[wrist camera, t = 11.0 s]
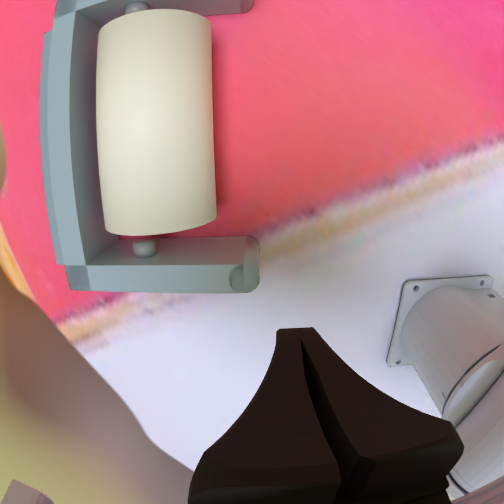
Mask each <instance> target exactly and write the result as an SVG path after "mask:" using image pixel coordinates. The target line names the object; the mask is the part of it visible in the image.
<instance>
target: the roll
mask: <svg viewBox="0 0 504 504" xmlns="http://www.w3.org/2000/svg"><path fill="white" fill-rule="evenodd" d="M96 130H97V150H98V165H99V177H100V188H101V197H102V206H103V214H104V222H105V229H106V230H107V231H108V232H110V233H113V234H118V235H130V236H141V235H156V234H165V233H172V232H178V231H183V230H188V229H192V228H196V227H199V226H202V225H205V224H207V223H209V222H211V221H213V220H214V219H215V218H216V217H217V208H216V187H215V164H214V136H213V100H212V25H211V23H210V21H209V20H208V19H206V18H205V17H203V16H201V15H199V14H196V13H193V12H189V11H184V10H177V9H152V10H144V11H138V12H134V13H130V14H126V15H123V16H121V17H118V18H116V19H114V20H112V21H110V22H108V23H107V24H106V25H104V26H103V27H102V28H101V30H100V31H99V34H98V47H97V67H96Z"/></svg>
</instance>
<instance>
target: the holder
mask: <svg viewBox="0 0 504 504" xmlns="http://www.w3.org/2000/svg"><path fill="white" fill-rule="evenodd" d="M252 7H253V0H57V3H56V8H55V15H54V21H53V28H52V30H51V31H49V32H46V33H45V35H44V43H43V53H42V65H41V81H40V142H41V159H42V171H43V181H44V190H45V198H46V206H47V213H48V219H49V225H50V231H51V237H52V242H53V247H54V252H55V257H56V262H57V265H65V269H66V273H67V278H68V282H69V286H70V290H82V291H109V292H149V293H248V292H251V291H253V290H254V289H255V288H256V287H257V286H258V284H259V279H260V277H259V244H258V242H257V240H256V239H254V238H253V237H250V236H220V237H178V238H151V237H146V238H140V239H119V235H118V234H113V233H110V232H108V231H107V230H106V229H105V222H104V214H103V206H102V197H101V188H100V177H99V165H98V150H97V130H96V67H97V47H98V34H99V31H100V30H101V28H102V27H103V26H104V25H106V24H107V23H108V22H110V21H112V20H114V19H116V18H118V17H121V16H123V15H126V14H130V13H134V12H138V11H144V10H152V9H177V10H184V11H189V12H193V13H196V14H199V15H201V16H209V15H220V14H236V13H245V12H248V11H249V10H250V9H251V8H252Z"/></svg>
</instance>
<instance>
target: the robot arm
mask: <svg viewBox="0 0 504 504" xmlns="http://www.w3.org/2000/svg"><path fill="white" fill-rule="evenodd" d="M480 282H481V283H480ZM492 284H493V278H492V277H491V276H476V277H463V278H449V279H434V280H417V281H408V282H406V283H405V284H404V286H403V291H402V296H401V302H400V307H399V312H398V316H397V321H396V326H395V330H394V334H393V339H392V343H391V347H390V351H389V355H388V358H387V364H388V366H389V367H395V366H402V365H409V364H412V365H413V367H414V368H415V370H416V372H417V373H418V375H419V377H420V378H421V380H422V382H423V384H424V385H425V387H426V389H427V391H428V392H429V394H430V396H431V398H432V399H433V401H434V403H435V405H436V407H437V408H438V410H439V412H440V414H441V416H442V418H438V417H434V416H431V415H428V414H425V413H423V412H421V411H418V410H416V409H414V408H411V407H409V406H407V405H405V404H403V403H401V402H399V401H397V400H395V399H394V398H392V397H390V396H388V395H387V394H385V393H383V392H382V391H380V390H379V389H377V388H376V387H374V386H373V385H371V384H370V383H369V382H367V381H366V380H364V379H363V378H362V377H361V376H359V375H358V374H357V373H356V372H355V371H354V370H352V369H351V368H350V367H349V366H348V365H347V364H346V363H345V362H344V361H343V360H342V359H341V358H340V357H339V356H338V355H337V354H336V353H335V352H334V351H333V350H332V349H331V348H330V346H329V345H328V344H327V343H326V342H325V341H324V340H323V338H322V337H321V336H320V335H319V334H318V332H317V331H316V330H315V329H314V328H313V327H310V328H288V329H279V330H278V331H277V332H276V346H275V350H274V354H273V357H272V360H271V363H270V365H269V368H268V370H267V372H266V375H265V377H264V379H263V381H262V383H261V385H260V387H259V389H258V390H257V392H256V394H255V395H254V397H253V399H252V400H251V402H250V403H249V405H248V406H247V407H246V409H245V410H244V412H243V413H242V414H241V415H240V417H239V418H238V419H237V420H236V421H235V423H234V424H233V425H232V426H231V427H230V428H229V429H228V430H227V432H226V433H225V434H224V435H223V436H222V437H221V438H219V439H218V440H217V441H216V442H215V443H214V444H213V445H212V446H211V447H209V448H208V449H207V450H206V451H205V452H204V453H203V455H202V457H201V459H200V461H199V463H198V465H197V467H196V469H195V472H194V474H193V477H192V481H191V483H190V488H189V496H188V504H504V298H503V297H502V296H500V295H499V294H498V293H497V292H495V291H494V290H493V289H492ZM416 285H417V287H416V289H414V290H413V288H414V287H415V286H416ZM397 360H399V361H397ZM396 361H397V362H396ZM448 493H449V494H450V495H451V496H452V497H453V498H455V499H454V500H452V501H450V498H449V496H448ZM1 504H54V503H53V501H52V500H51V499H50V498H48V497H47V496H46V495H45V494H43V493H42V492H40V491H38V490H36V489H34V488H32V487H29V486H27V485H25V484H23V483H21V482H19V481H17V480H12V482H11V483H10V485H9V487H8V489H7V492H6V494H5V496H4V498H3V500H2V502H1Z"/></svg>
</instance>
